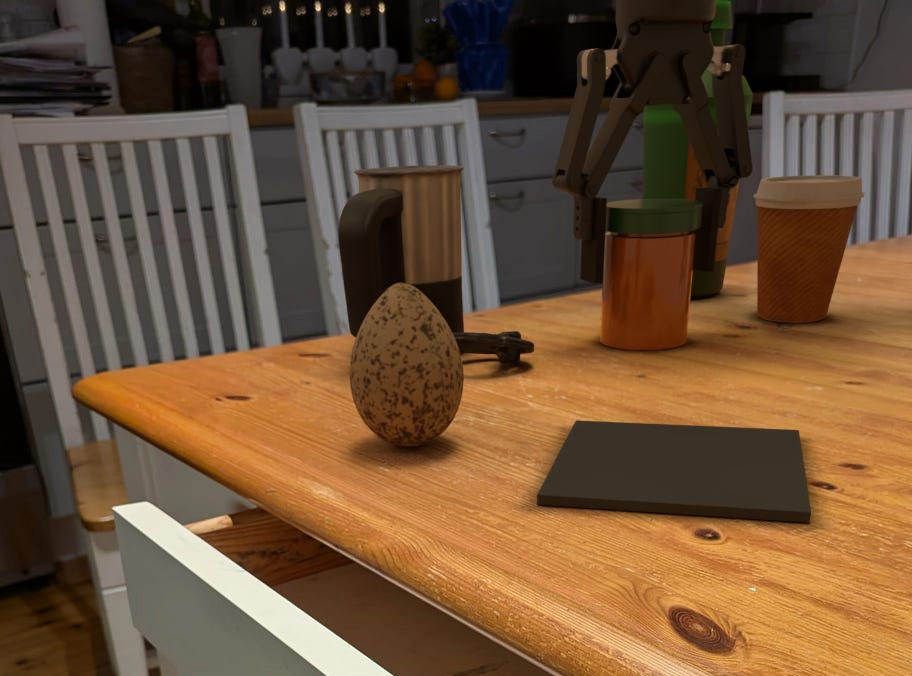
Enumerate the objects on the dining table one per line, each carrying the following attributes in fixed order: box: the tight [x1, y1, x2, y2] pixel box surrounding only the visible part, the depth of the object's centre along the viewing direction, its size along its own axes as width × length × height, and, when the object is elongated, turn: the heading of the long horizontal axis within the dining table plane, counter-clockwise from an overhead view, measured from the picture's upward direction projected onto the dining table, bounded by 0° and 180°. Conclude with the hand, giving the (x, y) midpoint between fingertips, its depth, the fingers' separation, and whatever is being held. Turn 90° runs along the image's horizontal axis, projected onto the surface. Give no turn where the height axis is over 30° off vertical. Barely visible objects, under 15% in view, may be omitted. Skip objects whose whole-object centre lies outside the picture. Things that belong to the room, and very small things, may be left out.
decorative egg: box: [349, 282, 465, 448], centre depth 60 cm, size 7×7×10 cm
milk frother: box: [337, 164, 535, 365], centre depth 80 cm, size 14×16×15 cm
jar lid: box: [605, 198, 703, 234], centre depth 81 cm, size 8×8×2 cm
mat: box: [536, 419, 812, 524], centre depth 56 cm, size 14×14×1 cm
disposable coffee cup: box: [753, 174, 866, 324], centre depth 89 cm, size 10×10×12 cm
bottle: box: [642, 0, 754, 300], centre depth 98 cm, size 11×11×28 cm
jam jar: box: [599, 230, 696, 351], centre depth 83 cm, size 8×8×11 cm
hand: (647, 275), depth 83 cm, fingers open, 10 cm apart
